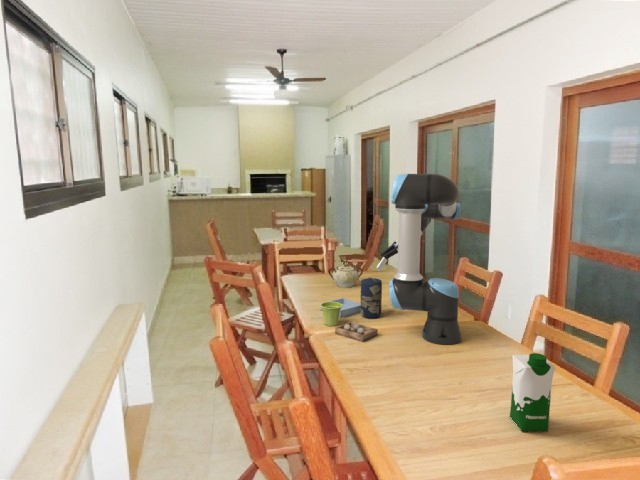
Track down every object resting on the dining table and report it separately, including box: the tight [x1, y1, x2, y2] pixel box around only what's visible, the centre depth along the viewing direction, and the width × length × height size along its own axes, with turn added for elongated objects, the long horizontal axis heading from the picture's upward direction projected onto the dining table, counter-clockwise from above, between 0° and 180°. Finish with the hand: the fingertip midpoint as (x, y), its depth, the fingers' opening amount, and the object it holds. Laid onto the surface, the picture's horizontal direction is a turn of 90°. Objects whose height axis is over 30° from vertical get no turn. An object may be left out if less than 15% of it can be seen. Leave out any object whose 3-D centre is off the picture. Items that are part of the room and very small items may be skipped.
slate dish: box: [320, 297, 361, 319], centre depth 217 cm, size 15×15×4 cm
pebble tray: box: [334, 321, 379, 343], centre depth 187 cm, size 14×10×4 cm
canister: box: [359, 277, 383, 319], centre depth 208 cm, size 10×10×18 cm
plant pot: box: [321, 301, 342, 327], centre depth 199 cm, size 9×9×9 cm
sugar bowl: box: [328, 259, 363, 289], centre depth 261 cm, size 20×15×15 cm
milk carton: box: [509, 352, 556, 432], centre depth 120 cm, size 9×9×20 cm
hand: (388, 272), depth 214 cm, fingers open, 13 cm apart
